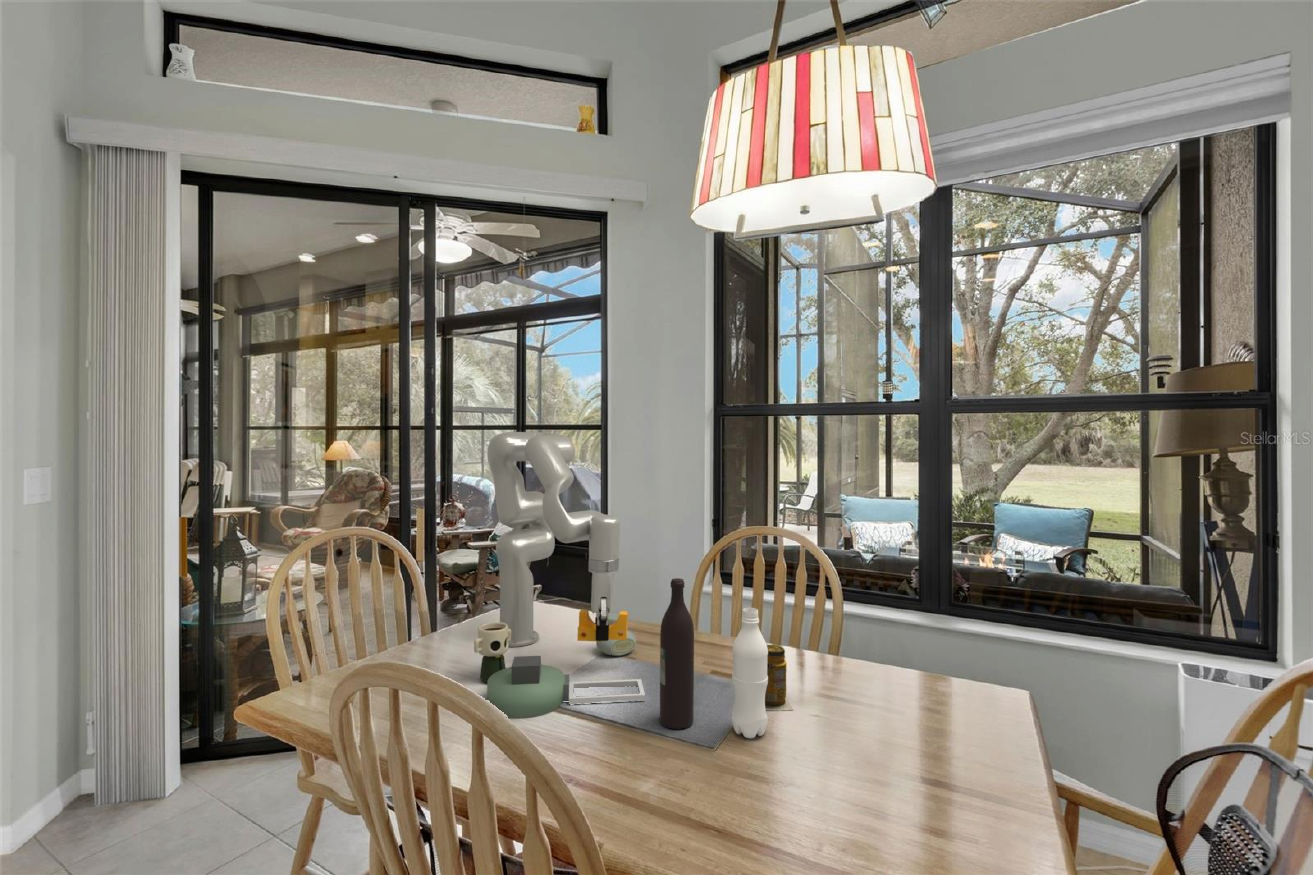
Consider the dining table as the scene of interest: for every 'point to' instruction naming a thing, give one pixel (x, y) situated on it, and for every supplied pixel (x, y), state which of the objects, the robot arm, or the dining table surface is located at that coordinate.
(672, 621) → the wine bottle
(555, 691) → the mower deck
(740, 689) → the water bottle
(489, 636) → the character mug
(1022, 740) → the dining table surface
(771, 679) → the condiment
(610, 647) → the air freshener
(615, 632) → the pipe clamp
